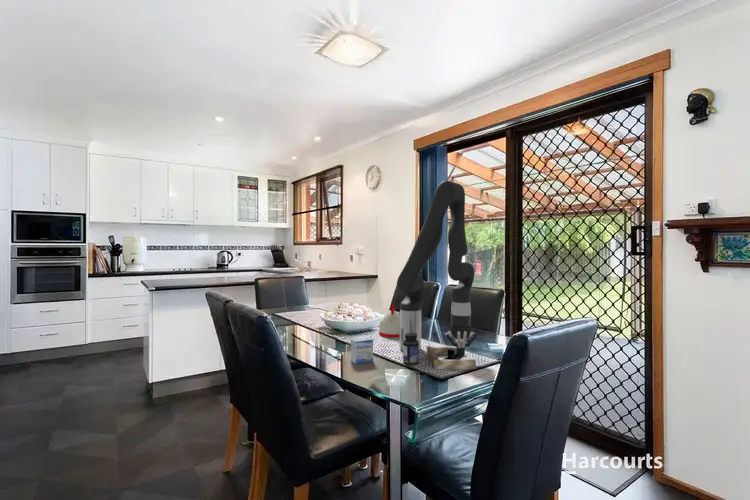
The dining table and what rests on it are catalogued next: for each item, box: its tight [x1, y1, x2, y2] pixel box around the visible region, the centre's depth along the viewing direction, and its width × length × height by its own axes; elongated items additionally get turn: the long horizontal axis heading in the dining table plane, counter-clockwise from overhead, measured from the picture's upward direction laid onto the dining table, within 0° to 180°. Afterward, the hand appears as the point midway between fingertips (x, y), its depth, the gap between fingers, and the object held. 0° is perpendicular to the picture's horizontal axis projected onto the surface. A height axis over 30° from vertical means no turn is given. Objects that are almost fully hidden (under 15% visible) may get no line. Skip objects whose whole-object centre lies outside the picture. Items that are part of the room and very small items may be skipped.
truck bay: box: [426, 345, 477, 370], centre depth 149 cm, size 15×19×4 cm
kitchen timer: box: [378, 304, 400, 339], centre depth 191 cm, size 14×14×15 cm
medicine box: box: [350, 337, 374, 365], centre depth 148 cm, size 8×4×9 cm, turn 117°
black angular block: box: [442, 347, 462, 360], centre depth 151 cm, size 12×7×5 cm, turn 146°
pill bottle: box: [402, 333, 420, 366], centre depth 146 cm, size 6×6×11 cm
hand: (460, 356), depth 149 cm, fingers closed
